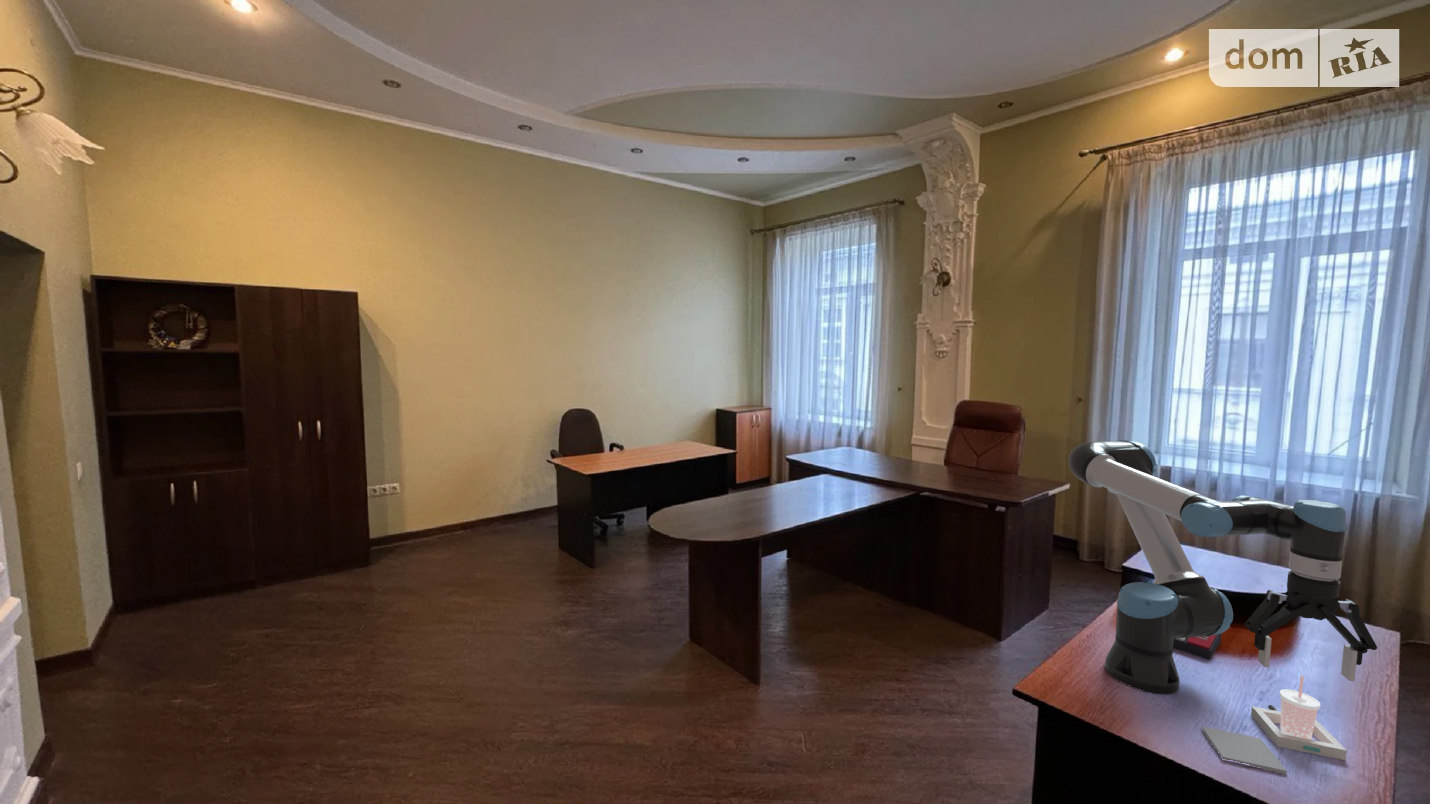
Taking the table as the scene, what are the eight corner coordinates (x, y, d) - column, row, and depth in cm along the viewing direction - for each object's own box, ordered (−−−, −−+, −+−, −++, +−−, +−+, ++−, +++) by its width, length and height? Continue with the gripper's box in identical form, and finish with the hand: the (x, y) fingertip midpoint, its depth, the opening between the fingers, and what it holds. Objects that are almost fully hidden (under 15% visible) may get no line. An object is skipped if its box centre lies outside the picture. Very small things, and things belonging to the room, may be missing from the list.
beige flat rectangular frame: (1277, 747, 118) (1278, 737, 117) (1241, 703, 132) (1242, 694, 132) (1346, 761, 114) (1348, 751, 113) (1301, 714, 128) (1302, 705, 128)
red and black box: (1160, 632, 158) (1173, 614, 168) (1159, 646, 159) (1172, 627, 168) (1211, 648, 150) (1222, 628, 159) (1210, 663, 151) (1220, 642, 160)
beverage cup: (1323, 749, 117) (1330, 687, 116) (1285, 742, 119) (1292, 680, 118) (1305, 731, 123) (1312, 671, 121) (1269, 724, 125) (1275, 665, 123)
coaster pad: (1222, 760, 114) (1222, 756, 114) (1201, 729, 123) (1201, 726, 123) (1286, 774, 110) (1286, 770, 110) (1260, 741, 119) (1260, 738, 119)
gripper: (1246, 572, 119) (1238, 667, 120) (1410, 591, 109) (1398, 693, 111) (1229, 560, 125) (1222, 650, 127) (1382, 577, 116) (1372, 673, 118)
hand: (1304, 670), depth 119 cm, fingers open, 13 cm apart
